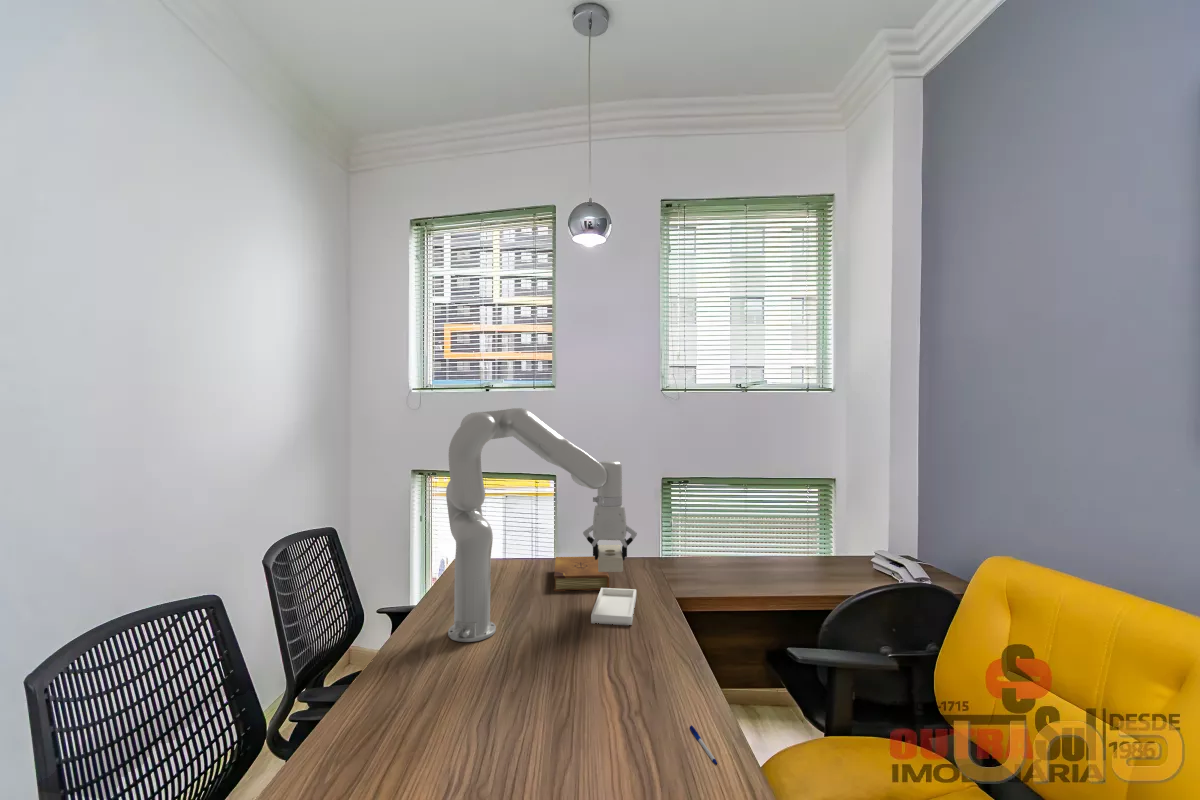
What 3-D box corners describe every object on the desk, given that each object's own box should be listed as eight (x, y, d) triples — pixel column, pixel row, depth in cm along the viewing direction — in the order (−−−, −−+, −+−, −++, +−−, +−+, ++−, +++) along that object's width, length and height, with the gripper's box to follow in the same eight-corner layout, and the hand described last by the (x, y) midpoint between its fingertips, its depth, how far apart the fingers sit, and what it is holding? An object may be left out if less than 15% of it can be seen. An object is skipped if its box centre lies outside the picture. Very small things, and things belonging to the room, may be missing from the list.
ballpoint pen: (688, 729, 97) (687, 724, 97) (692, 728, 97) (692, 723, 97) (714, 766, 87) (714, 760, 87) (719, 765, 87) (719, 759, 87)
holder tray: (631, 625, 144) (631, 616, 144) (591, 623, 146) (591, 614, 146) (636, 597, 166) (636, 589, 167) (601, 595, 168) (601, 587, 168)
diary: (609, 592, 173) (609, 575, 173) (554, 593, 172) (554, 576, 172) (604, 570, 196) (604, 555, 196) (555, 571, 195) (555, 556, 195)
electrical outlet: (620, 541, 167) (622, 557, 149) (620, 554, 166) (622, 571, 148) (598, 541, 167) (598, 557, 149) (598, 554, 166) (598, 571, 148)
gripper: (579, 503, 154) (580, 561, 154) (637, 504, 152) (637, 563, 152) (583, 498, 162) (583, 554, 161) (638, 499, 160) (638, 556, 159)
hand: (610, 558), depth 157 cm, fingers closed on electrical outlet, 7 cm apart
